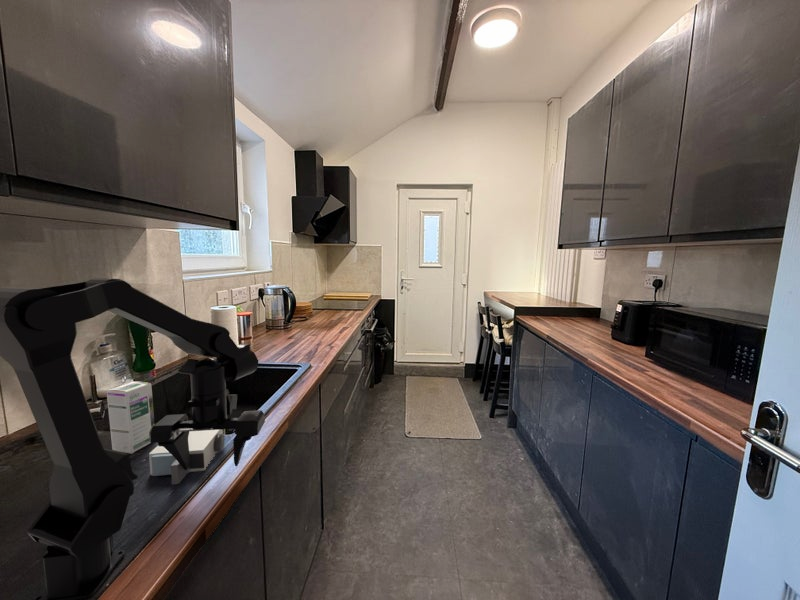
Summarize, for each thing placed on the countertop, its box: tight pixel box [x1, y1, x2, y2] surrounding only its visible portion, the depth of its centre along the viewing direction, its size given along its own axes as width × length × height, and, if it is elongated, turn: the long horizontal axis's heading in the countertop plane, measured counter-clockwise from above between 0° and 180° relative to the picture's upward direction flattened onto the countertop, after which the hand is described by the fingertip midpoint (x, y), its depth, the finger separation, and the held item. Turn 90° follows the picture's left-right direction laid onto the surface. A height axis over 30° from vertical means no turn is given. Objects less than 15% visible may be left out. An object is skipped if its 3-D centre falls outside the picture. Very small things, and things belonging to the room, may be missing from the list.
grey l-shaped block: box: [151, 454, 190, 485], centre depth 61 cm, size 4×6×4 cm, turn 99°
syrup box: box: [106, 381, 156, 455], centre depth 73 cm, size 6×6×14 cm
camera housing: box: [148, 429, 226, 476], centre depth 69 cm, size 10×11×5 cm
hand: (212, 466), depth 62 cm, fingers open, 9 cm apart
